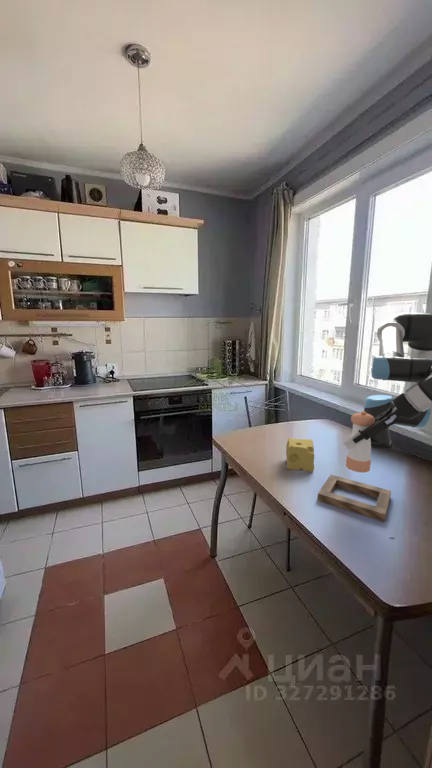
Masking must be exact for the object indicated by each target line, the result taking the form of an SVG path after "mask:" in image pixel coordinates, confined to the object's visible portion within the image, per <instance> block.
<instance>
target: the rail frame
mask: <svg viewBox="0 0 432 768" xmlns="http://www.w3.org/2000/svg"><path fill="white" fill-rule="evenodd" d="M337 487H338V488H341V489H345V490H347V491H348V490H349V491H352V492H354V493H359V494H363V495H365V496H370V497H372V498H376V499H377V501H376V504H375V505H373V504H370V503H366V502H364V501H360V500H356V499H353V498H350V497H346V496H343V495H340V494H337V493H334V491H335V489H336V488H337ZM391 495H392V490H390V489H387V488H382V487H379V486H375V485H371V484H367V483H364V482H360V481H358V480H357V481H356V480H353V479H349V478H346V477H343V476H337V475H334V474H329V476H328V478H327V479H326V481H325V482H324V483H323V485H322V486H321V488H320V490H318V493H317V501H319V502H322V503H325V504H326V505H327V504H328V505H331V506H333V507H334V506H335V507H338V508H340V509H344V510H347V511H350V512H353V513H355V514H359V515H362V516H365V517H368V518H371V519H374V520H376V521H377V520H378V521H381V522H384V523H385V520H386V517H387V513H388V509H389V504H390V500H391Z"/></svg>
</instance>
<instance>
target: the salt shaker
mask: <svg viewBox="0 0 432 768" xmlns="http://www.w3.org/2000/svg"><path fill="white" fill-rule="evenodd" d="M350 421H351V423H352V429H351V431H352V432H351V434H352V436H354V435H355V434H357V433H358V432H359V430H360V431H363V430H365V429H366V428H367V427H369V426H370V425H372V424H373V423H375V419H374V417H373V416H372V415H370V414H367V413H366V412H365V411H364V410H363V411H361V412H356V413H353V414H352V415H351V417H350ZM352 436H351V437H352ZM371 453H372V447H371V439H370V438H369V439H368V440H366V439H365V440H364V441H362V442H360V443H359V444H357V445H355V446H354V447H352V448H350V449H348V454H347V455H346V461H345V467H346V468H347V469H348V470H351V471H353V472H355V473H362V474H363V473H368V472H370V470H371V465H372V464H371V463H372V459H371Z"/></svg>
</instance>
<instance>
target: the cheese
mask: <svg viewBox="0 0 432 768" xmlns="http://www.w3.org/2000/svg"><path fill="white" fill-rule="evenodd" d="M286 441H287V443H286V447H285V449H286V451H285V454H286V455H285V456H286V464H287V470H291V471H300V470H302V471H304V472H310V473H314V471H315V464H314V463H315V450H314V449H315V447H314V440H313V439H311V438H308V439H307V438H306V439H302V438H300V439H299V438H291V437H290V438H289V437H288V439H287V440H286Z"/></svg>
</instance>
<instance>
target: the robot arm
mask: <svg viewBox="0 0 432 768" xmlns="http://www.w3.org/2000/svg"><path fill="white" fill-rule="evenodd" d="M376 336H377V339H378V341H379V346H378V347H379V349H378V350H379V351H378V352H379V353H378V356H377V355H376V356H374V357H373V358H372V367H371V378H373V379H376V380H382V381H393V382H394V381H395V382H396V381H398V382H405V383H404V389H403V392H402V393H400V394H399V395H397V396H395V397H394V398H393V396H392V395H387V394H374V395H369V396H368V397H366V398H365V400H364V405H363V408H364V409H363V411H365V412H366V413H367V414H370V415H372V416H373V417H374V419H375V423H373V424H372V425H370V426H369V427H367V428H366V429H365V430H363V431H360V430H359V432H358V433H357V434H355V435H354V436H352V433H351V434H349V435H347V439H346V440H344V441H343V442H342V443H343V445H344V446H345V447H346V448H347V449H348V450H349V449H350V448H352V447H354V446H355V445H357V444H359V443H360V442H362V441H364V440H365V439H366V440H368V439H369V438H370V439H371V448H372V447H373V448H377V449H378V448H381V449H382V448H389V447H391V445H392V438H391V433H390V427H391V426H392V425H394V426H395V425H397V426H402V427H403V426H404V427H412V428H418V429H419V428H424V427H426V426H427V425H428V423H429V421H430V419H431V412H432V312H400V313H397V314H394V315H391V316H389V317H387V318H386V319H384V321H382V322H381V323H380V325H379V326H378V329H377V333H376ZM404 343H407V345H408V348H409V349H410V350H411V351H410V354H409V355H410V356H409V357H405V351H404V350H405V349H404ZM351 436H352V437H351ZM388 446H389V447H388Z"/></svg>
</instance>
